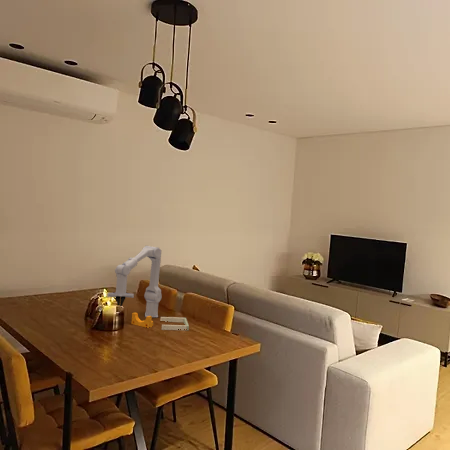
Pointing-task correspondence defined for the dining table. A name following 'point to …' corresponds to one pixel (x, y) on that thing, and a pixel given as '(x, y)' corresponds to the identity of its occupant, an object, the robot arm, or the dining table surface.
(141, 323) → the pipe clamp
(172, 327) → the bracket
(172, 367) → the dining table surface
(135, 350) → the dining table surface
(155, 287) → the robot arm
